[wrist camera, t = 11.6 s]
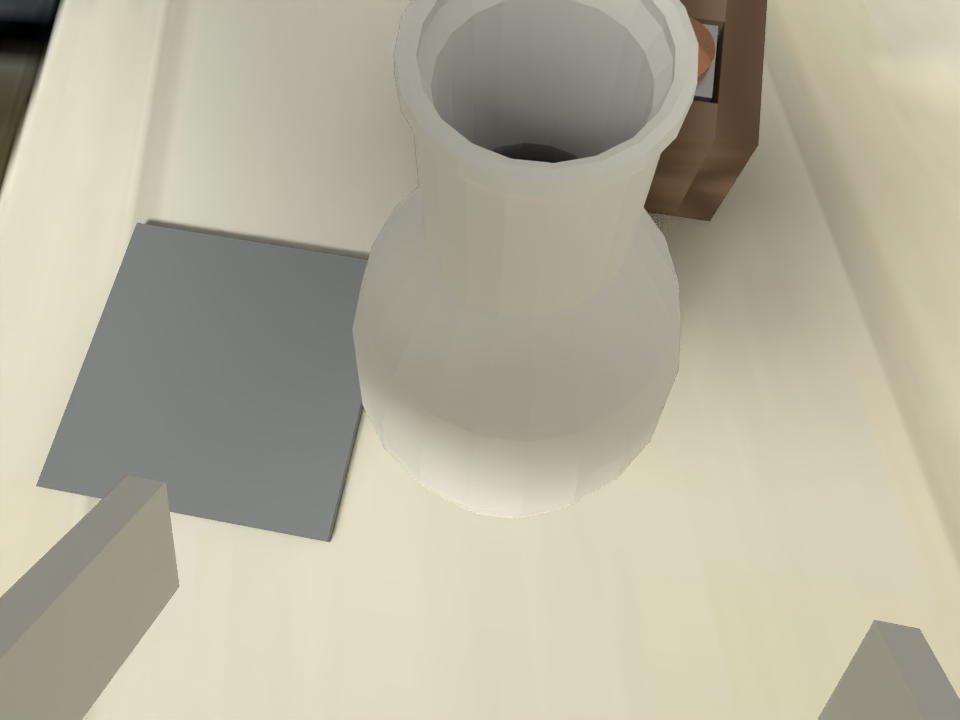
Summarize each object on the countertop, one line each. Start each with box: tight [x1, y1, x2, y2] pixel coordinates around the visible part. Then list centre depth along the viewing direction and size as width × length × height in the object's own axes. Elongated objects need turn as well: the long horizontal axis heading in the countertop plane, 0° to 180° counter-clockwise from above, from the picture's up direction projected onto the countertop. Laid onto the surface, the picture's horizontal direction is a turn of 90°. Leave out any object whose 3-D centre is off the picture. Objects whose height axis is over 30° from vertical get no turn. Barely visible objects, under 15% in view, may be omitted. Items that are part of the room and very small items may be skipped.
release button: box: [689, 17, 718, 103], centre depth 34 cm, size 4×4×6 cm
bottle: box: [352, 0, 699, 519], centre depth 22 cm, size 11×11×25 cm
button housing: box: [644, 0, 767, 221], centre depth 35 cm, size 9×9×7 cm
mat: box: [36, 223, 368, 542], centre depth 34 cm, size 15×15×1 cm
